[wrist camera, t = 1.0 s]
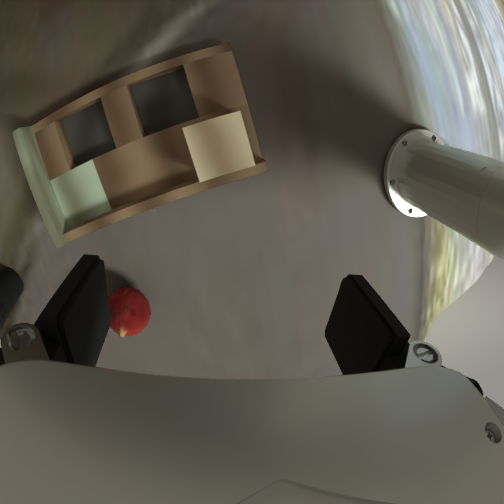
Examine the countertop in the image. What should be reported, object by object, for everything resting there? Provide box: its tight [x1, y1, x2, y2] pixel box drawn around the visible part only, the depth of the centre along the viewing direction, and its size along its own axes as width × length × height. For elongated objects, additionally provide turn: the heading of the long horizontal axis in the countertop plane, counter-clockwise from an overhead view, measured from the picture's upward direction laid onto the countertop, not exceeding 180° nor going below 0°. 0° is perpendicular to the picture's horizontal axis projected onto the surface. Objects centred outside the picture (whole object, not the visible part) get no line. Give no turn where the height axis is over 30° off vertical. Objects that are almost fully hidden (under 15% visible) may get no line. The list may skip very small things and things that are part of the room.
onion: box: [108, 287, 151, 338], centre depth 33 cm, size 6×6×8 cm
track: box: [12, 42, 269, 249], centre depth 26 cm, size 24×14×6 cm, turn 105°
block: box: [182, 111, 256, 182], centre depth 26 cm, size 5×5×5 cm
